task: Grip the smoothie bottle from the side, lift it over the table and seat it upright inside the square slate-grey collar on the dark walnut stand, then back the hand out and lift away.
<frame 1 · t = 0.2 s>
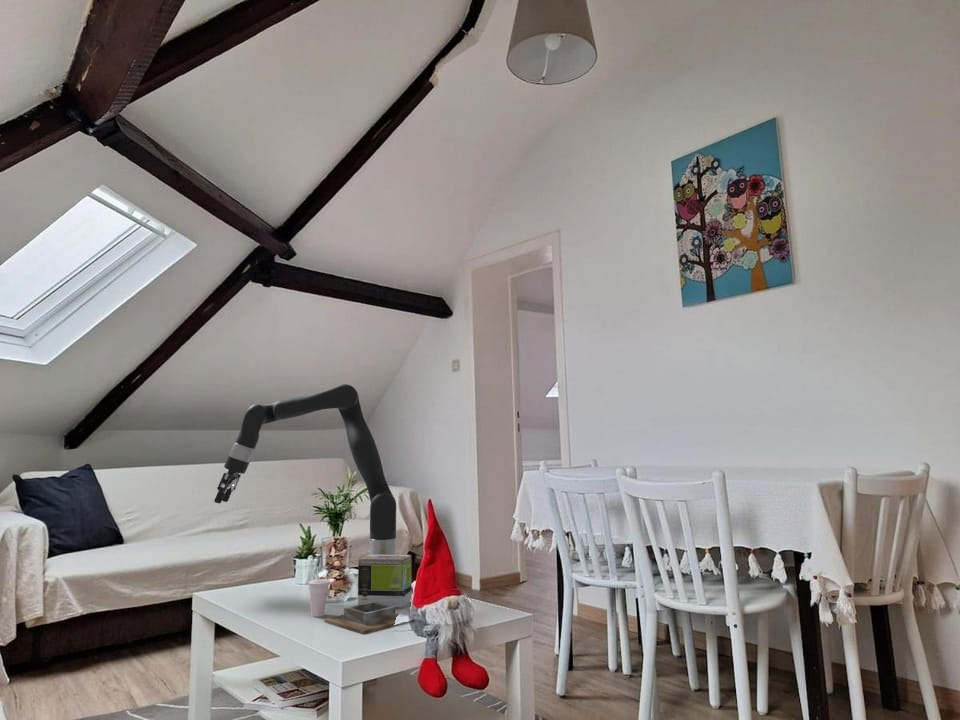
hand: (220, 502, 216), 31 cm above the table, tool tilted 20°, fingers open, 8 cm apart
tea box: (384, 604, 196), on the table
smoothie: (317, 616, 183), on the table
collar stand: (369, 621, 176), on the table
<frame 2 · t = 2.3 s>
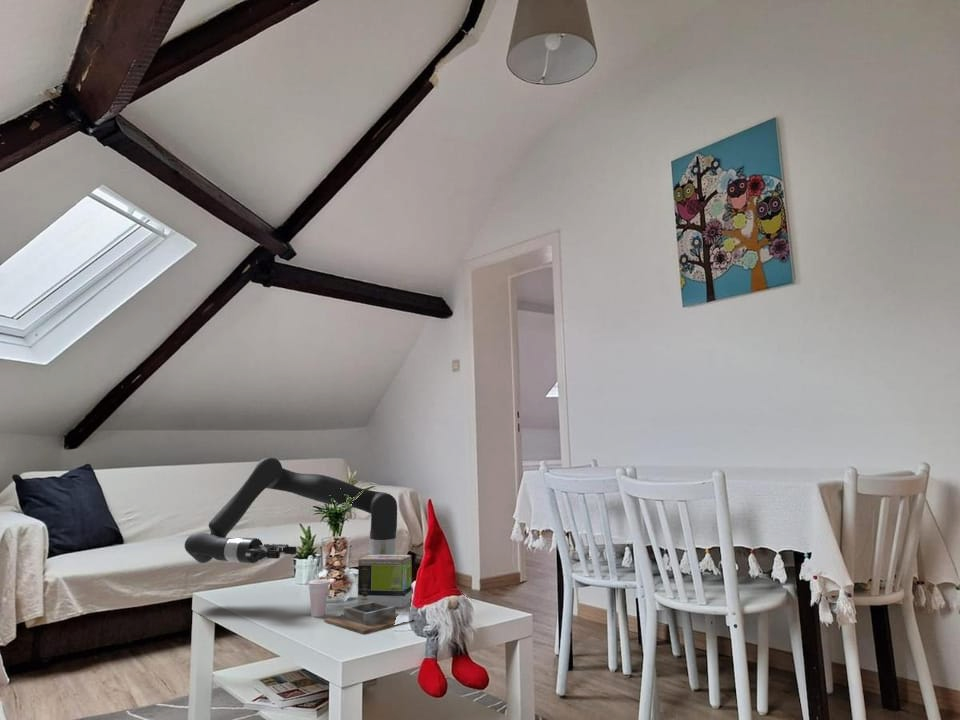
hand: (287, 552, 189), 18 cm above the table, tool horizontal, fingers open, 8 cm apart
nothing on the table moved.
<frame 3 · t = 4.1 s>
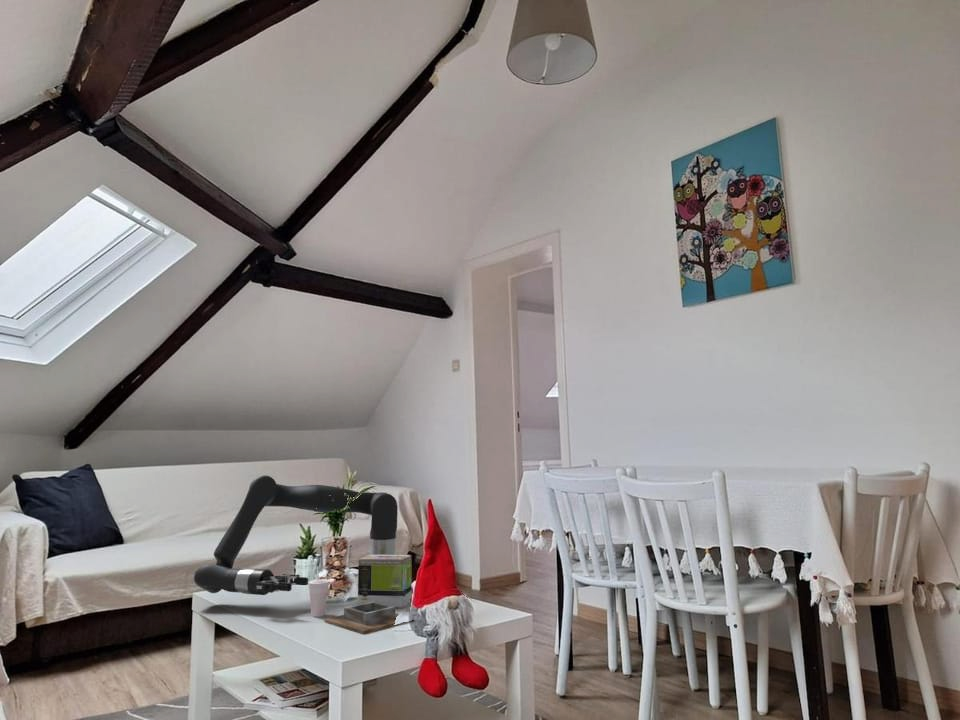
hand: (299, 584, 186), 8 cm above the table, tool horizontal, fingers open, 8 cm apart
nothing on the table moved.
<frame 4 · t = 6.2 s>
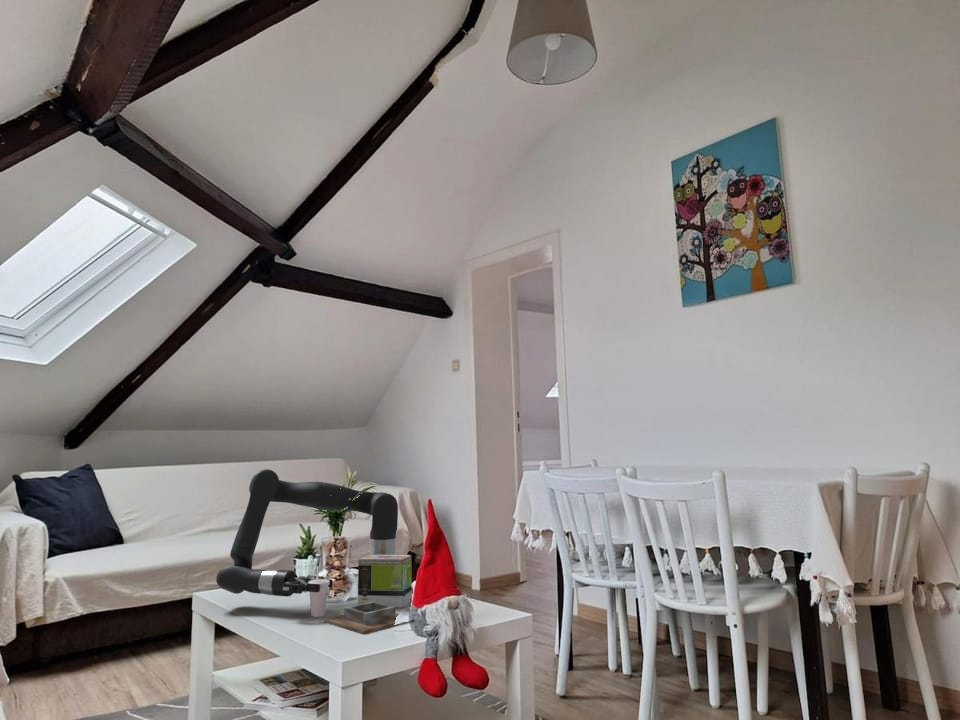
hand: (325, 585, 183), 9 cm above the table, tool horizontal, fingers closed on smoothie, 6 cm apart
smoothie: (317, 615, 183), on the table, touching gripper
everything else where it was.
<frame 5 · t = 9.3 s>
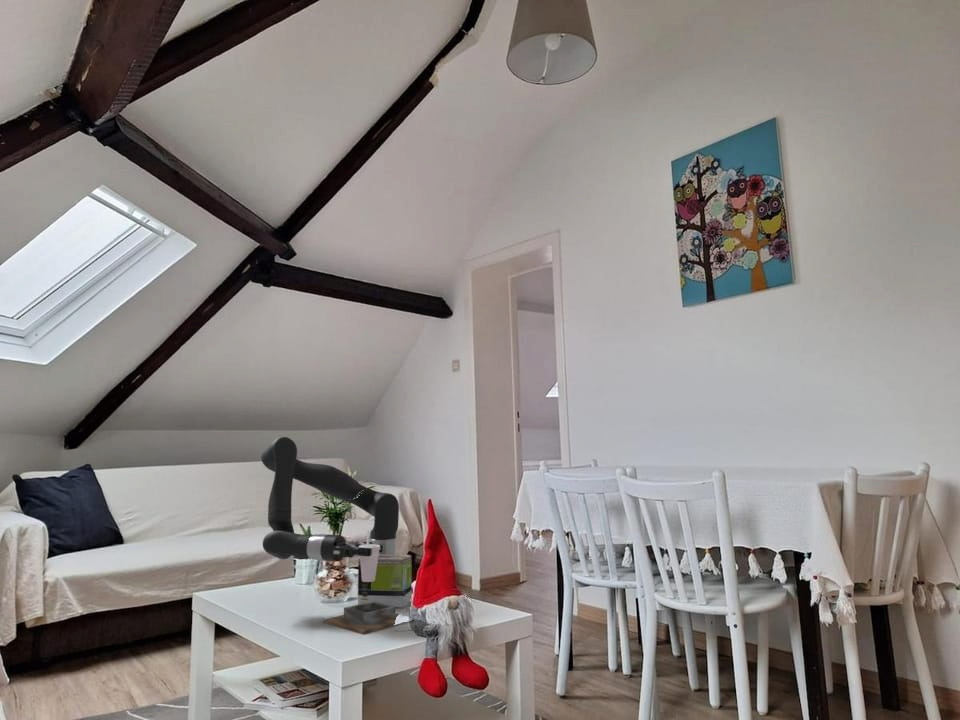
hand: (376, 550, 178), 20 cm above the table, tool horizontal, fingers closed on smoothie, 6 cm apart
smoothie: (368, 581, 177), point 11 cm above the table, touching gripper
everything else where it was.
when the fingers open (10 cm above the table, at t = 12.5 s): smoothie stays where it is, resting on collar stand.
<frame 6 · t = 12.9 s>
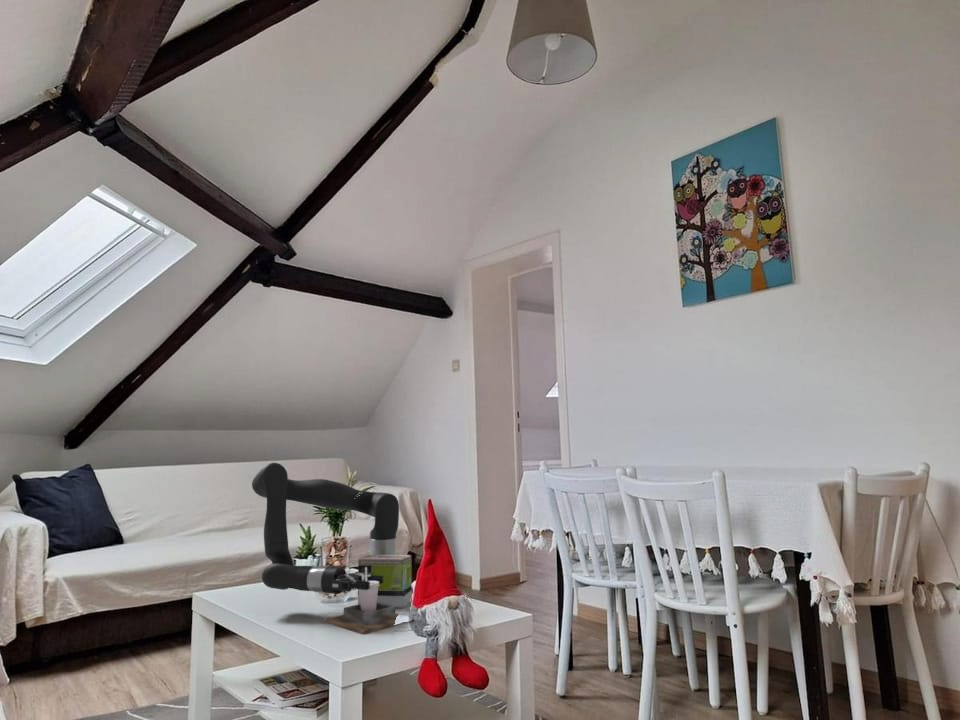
hand: (376, 582, 177), 11 cm above the table, tool horizontal, fingers open, 8 cm apart
smoothie: (368, 618, 176), point 1 cm above the table, touching collar stand
everything else where it was.
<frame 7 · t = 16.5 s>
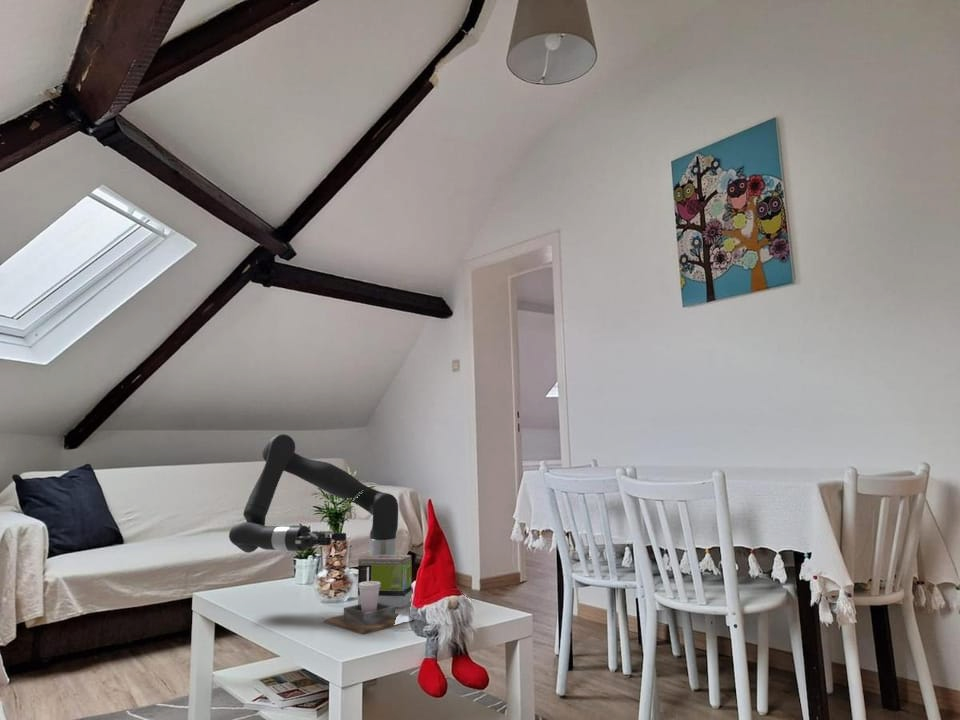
hand: (338, 539, 182), 22 cm above the table, tool horizontal, fingers open, 8 cm apart
nothing on the table moved.
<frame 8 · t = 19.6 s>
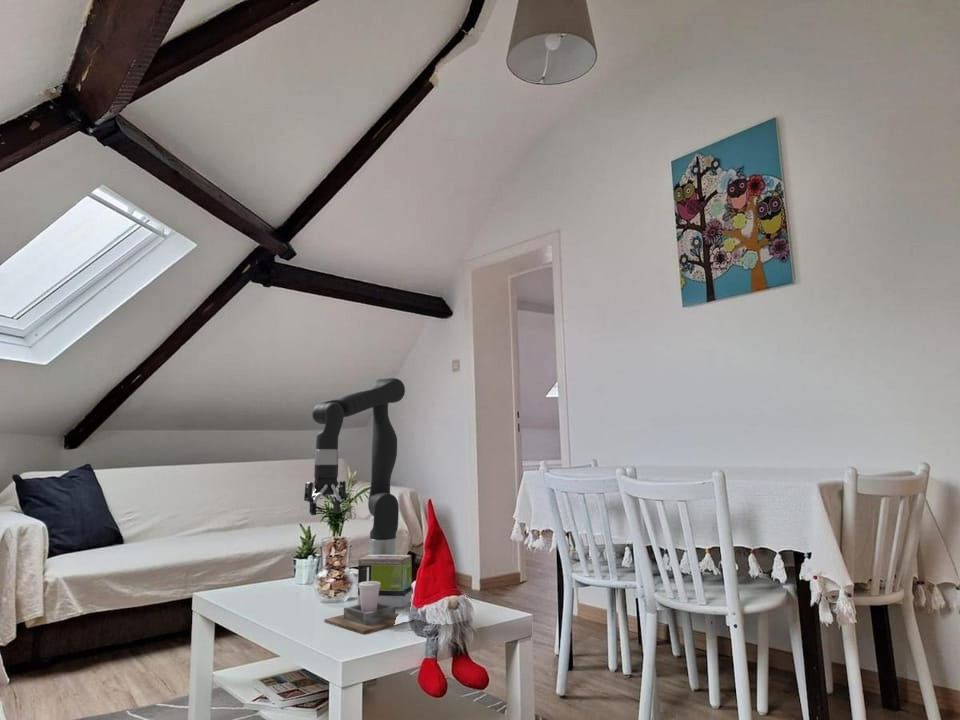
hand: (324, 514, 199), 28 cm above the table, tool pointing down, fingers open, 8 cm apart
nothing on the table moved.
at the end: smoothie 0.1 cm off-centre on the collar stand, point 0.6 cm above the collar stand's base; smoothie tilted 0°; the gripper is holding nothing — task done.
